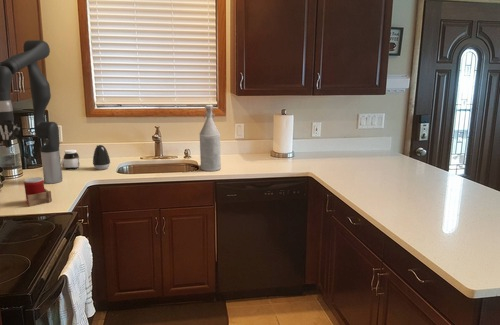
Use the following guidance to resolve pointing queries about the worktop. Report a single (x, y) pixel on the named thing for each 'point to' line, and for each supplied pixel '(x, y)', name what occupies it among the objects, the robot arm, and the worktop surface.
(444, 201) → the worktop surface
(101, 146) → the black egg shaped device
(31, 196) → the v-block stop
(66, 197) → the worktop surface
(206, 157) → the grey bottle
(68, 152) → the spread jar
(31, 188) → the canned food
